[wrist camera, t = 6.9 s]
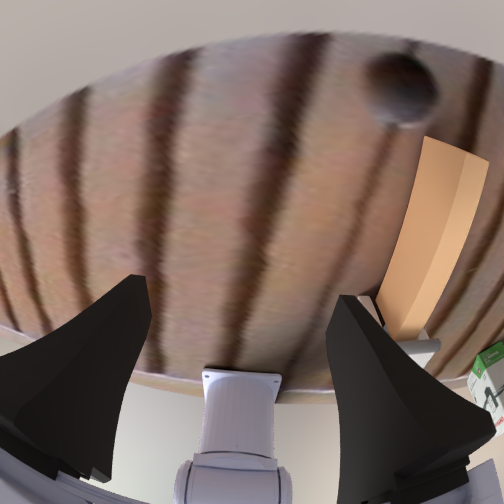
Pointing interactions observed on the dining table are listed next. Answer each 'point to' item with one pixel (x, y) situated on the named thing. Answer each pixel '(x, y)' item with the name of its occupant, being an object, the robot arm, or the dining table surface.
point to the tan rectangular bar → (430, 236)
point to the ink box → (489, 383)
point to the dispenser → (416, 348)
